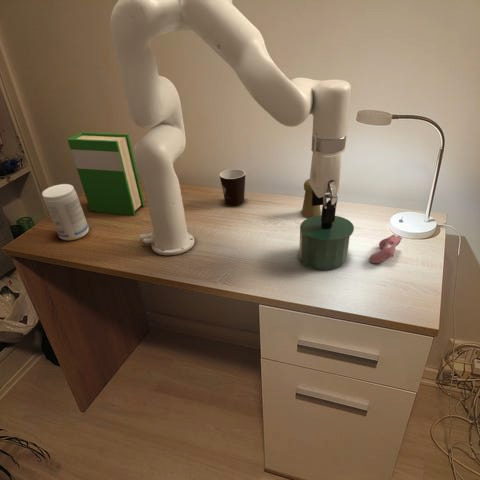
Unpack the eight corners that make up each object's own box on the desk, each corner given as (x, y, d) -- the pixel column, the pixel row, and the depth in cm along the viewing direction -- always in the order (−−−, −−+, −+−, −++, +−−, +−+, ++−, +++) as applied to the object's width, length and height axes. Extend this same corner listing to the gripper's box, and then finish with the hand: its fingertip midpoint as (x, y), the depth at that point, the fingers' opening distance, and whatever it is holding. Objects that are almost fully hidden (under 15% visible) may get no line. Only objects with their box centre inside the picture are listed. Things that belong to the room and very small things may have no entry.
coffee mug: (247, 207, 139) (245, 178, 133) (221, 208, 140) (218, 179, 133) (247, 192, 148) (245, 164, 142) (223, 194, 148) (220, 166, 142)
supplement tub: (88, 224, 137) (73, 181, 128) (90, 237, 130) (75, 192, 121) (58, 231, 135) (41, 187, 125) (58, 244, 128) (41, 199, 118)
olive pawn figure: (320, 218, 130) (322, 184, 123) (300, 217, 131) (301, 184, 124) (321, 209, 134) (323, 176, 127) (302, 209, 135) (303, 176, 128)
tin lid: (306, 246, 102) (307, 219, 97) (295, 221, 112) (295, 196, 108) (360, 240, 103) (364, 213, 98) (344, 216, 113) (346, 191, 108)
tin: (305, 272, 108) (306, 244, 102) (295, 248, 117) (295, 220, 112) (353, 267, 108) (356, 238, 103) (339, 243, 118) (341, 215, 112)
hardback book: (144, 205, 145) (128, 134, 130) (134, 215, 140) (115, 141, 125) (102, 201, 150) (81, 132, 135) (90, 210, 145) (67, 139, 130)
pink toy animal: (380, 271, 108) (397, 253, 103) (366, 260, 109) (382, 242, 104) (391, 253, 115) (408, 235, 109) (378, 243, 115) (393, 225, 110)
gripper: (303, 133, 100) (300, 200, 111) (321, 157, 87) (316, 231, 98) (334, 130, 100) (327, 197, 112) (356, 154, 87) (347, 228, 98)
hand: (322, 213), depth 105 cm, fingers open, 9 cm apart
